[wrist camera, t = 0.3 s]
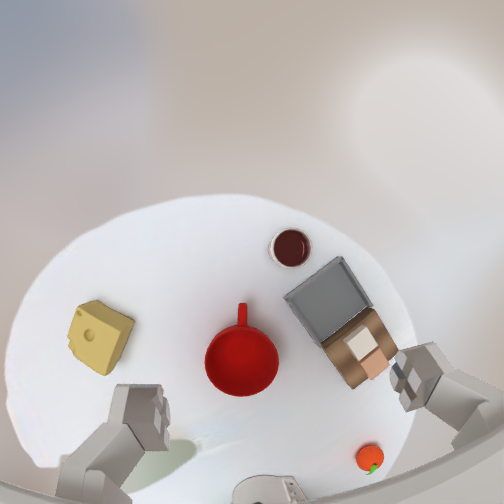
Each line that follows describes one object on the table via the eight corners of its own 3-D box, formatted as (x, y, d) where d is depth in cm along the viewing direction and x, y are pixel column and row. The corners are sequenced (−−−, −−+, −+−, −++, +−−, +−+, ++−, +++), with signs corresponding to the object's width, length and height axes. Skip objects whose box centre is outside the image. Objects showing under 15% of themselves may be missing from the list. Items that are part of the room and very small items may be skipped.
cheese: (80, 339, 60) (60, 350, 50) (96, 296, 61) (76, 302, 51) (120, 362, 61) (105, 378, 51) (138, 319, 62) (123, 330, 52)
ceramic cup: (273, 298, 64) (282, 306, 54) (269, 377, 63) (277, 396, 53) (208, 296, 63) (204, 304, 53) (207, 376, 62) (204, 396, 52)
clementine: (370, 464, 65) (381, 478, 58) (347, 465, 65) (357, 480, 58) (380, 440, 65) (392, 453, 58) (357, 441, 65) (368, 455, 58)
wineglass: (264, 267, 64) (273, 270, 52) (262, 233, 64) (270, 228, 52) (297, 265, 64) (313, 267, 52) (295, 231, 64) (311, 226, 52)
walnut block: (390, 346, 66) (399, 351, 62) (346, 383, 65) (353, 389, 61) (366, 306, 65) (374, 309, 61) (319, 344, 64) (324, 349, 60)
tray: (367, 303, 65) (373, 305, 62) (316, 343, 64) (320, 347, 61) (337, 256, 65) (342, 256, 62) (283, 297, 64) (285, 299, 61)
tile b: (384, 361, 61) (389, 365, 59) (366, 376, 61) (371, 380, 58) (374, 345, 61) (379, 348, 59) (356, 360, 61) (360, 363, 58)
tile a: (372, 342, 61) (378, 345, 59) (354, 357, 61) (358, 361, 58) (361, 324, 61) (366, 326, 58) (342, 339, 61) (346, 342, 58)
